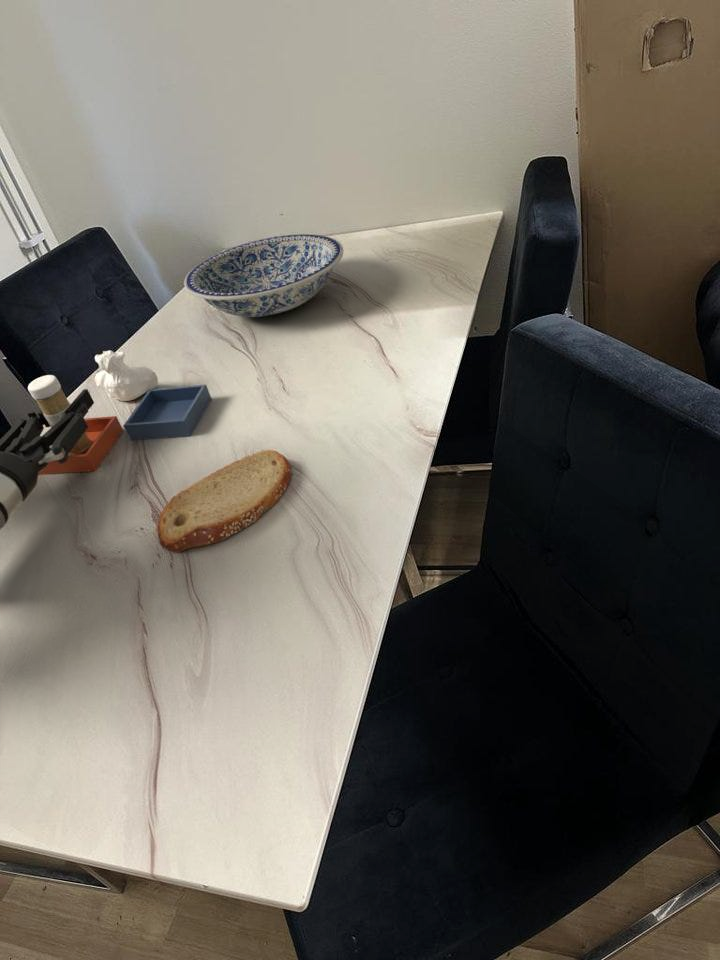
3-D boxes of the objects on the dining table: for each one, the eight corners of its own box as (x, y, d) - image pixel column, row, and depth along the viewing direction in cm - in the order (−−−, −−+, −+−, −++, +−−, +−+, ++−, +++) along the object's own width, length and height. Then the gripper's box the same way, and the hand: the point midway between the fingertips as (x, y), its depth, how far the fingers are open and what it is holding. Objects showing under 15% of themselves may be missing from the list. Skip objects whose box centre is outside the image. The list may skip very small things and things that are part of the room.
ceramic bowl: (383, 283, 144) (375, 237, 138) (266, 357, 127) (251, 309, 121) (282, 263, 165) (271, 223, 159) (170, 324, 149) (153, 282, 142)
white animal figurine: (108, 409, 128) (71, 389, 117) (110, 372, 130) (74, 349, 119) (165, 403, 125) (132, 382, 115) (166, 365, 127) (134, 341, 116)
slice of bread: (294, 455, 100) (288, 435, 98) (284, 538, 86) (276, 517, 84) (181, 473, 102) (172, 454, 100) (153, 557, 88) (142, 537, 86)
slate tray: (130, 440, 113) (123, 425, 111) (155, 403, 121) (149, 389, 119) (190, 436, 110) (184, 421, 108) (211, 399, 119) (206, 384, 117)
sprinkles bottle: (82, 438, 115) (45, 371, 107) (97, 444, 113) (61, 376, 104) (60, 453, 113) (21, 386, 104) (75, 460, 110) (36, 391, 102)
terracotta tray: (35, 474, 110) (26, 459, 108) (68, 434, 119) (60, 420, 117) (95, 471, 108) (86, 456, 106) (123, 430, 116) (116, 415, 114)
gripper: (-37, 508, 99) (42, 419, 117) (63, 504, 95) (130, 411, 113) (-66, 470, 95) (21, 382, 112) (38, 463, 91) (111, 373, 108)
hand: (75, 397), depth 112 cm, fingers closed on sprinkles bottle, 4 cm apart
